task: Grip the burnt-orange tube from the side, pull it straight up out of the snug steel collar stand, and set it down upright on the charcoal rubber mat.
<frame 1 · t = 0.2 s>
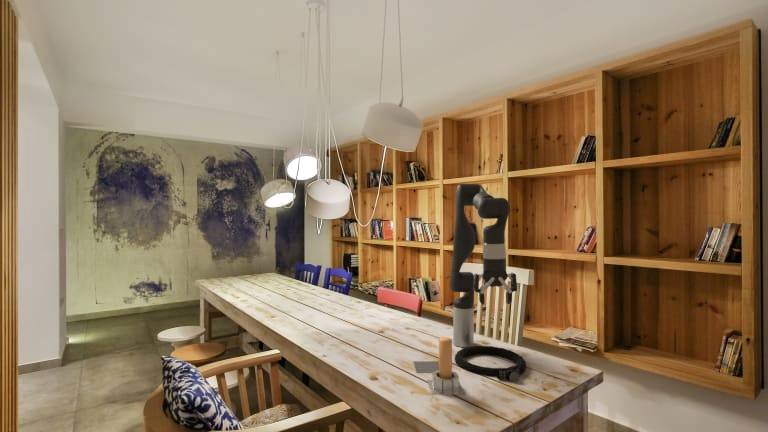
hand: (495, 303, 128), 29 cm above the table, tool pointing down, fingers open, 8 cm apart
mat: (429, 369, 144), on the table
cable lock: (491, 367, 148), on the table
collar stand: (445, 389, 127), on the table
tube: (445, 386, 127), point 1 cm above the table, touching collar stand
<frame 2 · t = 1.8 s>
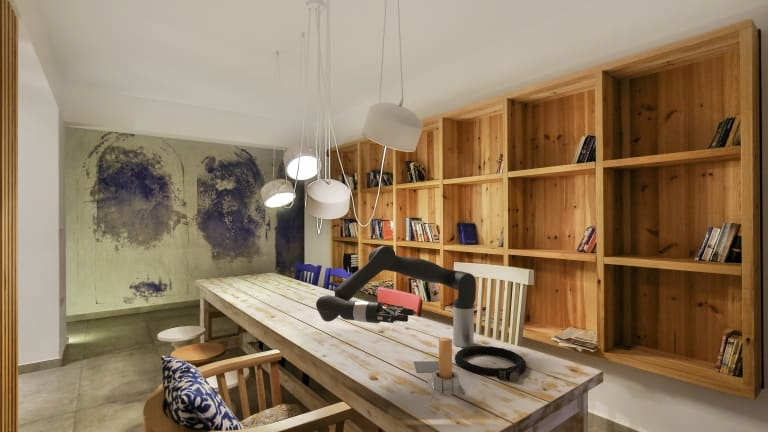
hand: (410, 315, 133), 24 cm above the table, tool horizontal, fingers open, 8 cm apart
nothing on the table moved.
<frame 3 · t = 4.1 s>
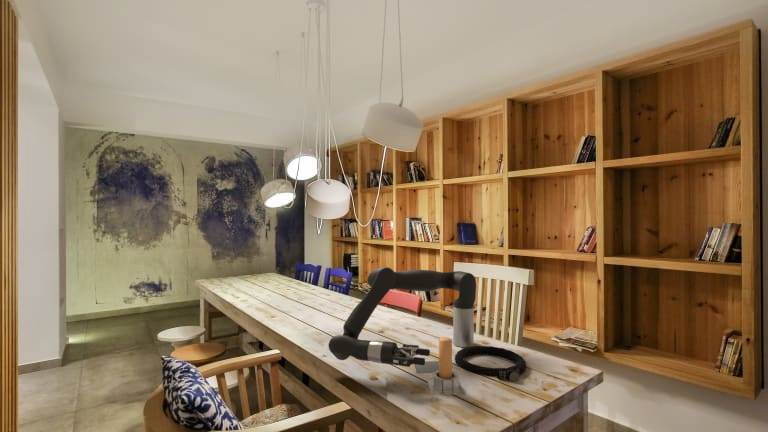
hand: (427, 357, 129), 10 cm above the table, tool horizontal, fingers open, 8 cm apart
nothing on the table moved.
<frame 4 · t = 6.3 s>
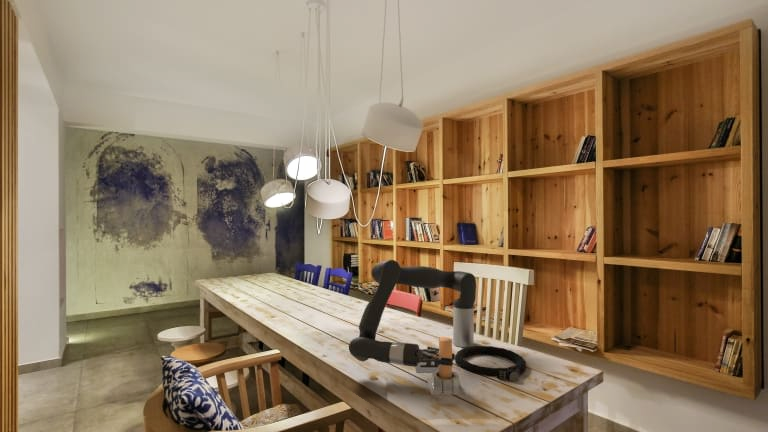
hand: (453, 359, 126), 10 cm above the table, tool horizontal, fingers closed on tube, 4 cm apart
tube: (445, 386, 127), point 1 cm above the table, touching collar stand, gripper
everything else where it was.
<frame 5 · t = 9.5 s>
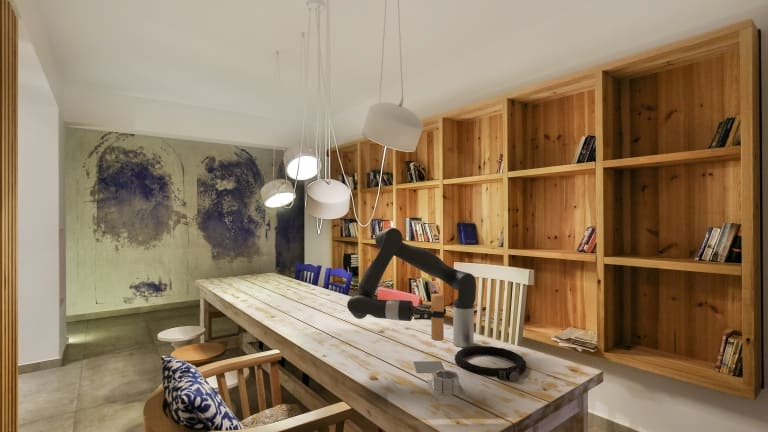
hand: (444, 313, 136), 24 cm above the table, tool horizontal, fingers closed on tube, 4 cm apart
tube: (437, 338, 137), point 14 cm above the table, touching gripper
everything else where it was.
when the fingers open (12 cm above the table, at t = 12.7 s): tube drops 1 cm, resting on mat.
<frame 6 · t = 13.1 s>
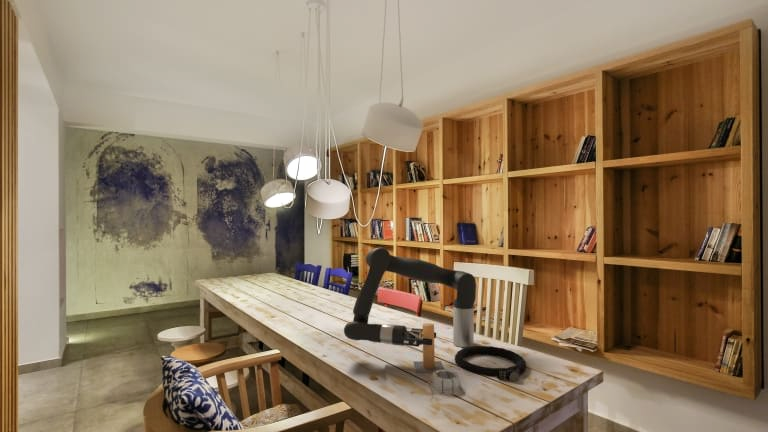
hand: (434, 338, 143), 12 cm above the table, tool horizontal, fingers open, 8 cm apart
tube: (428, 366, 144), point 1 cm above the table, touching mat
everything else where it was.
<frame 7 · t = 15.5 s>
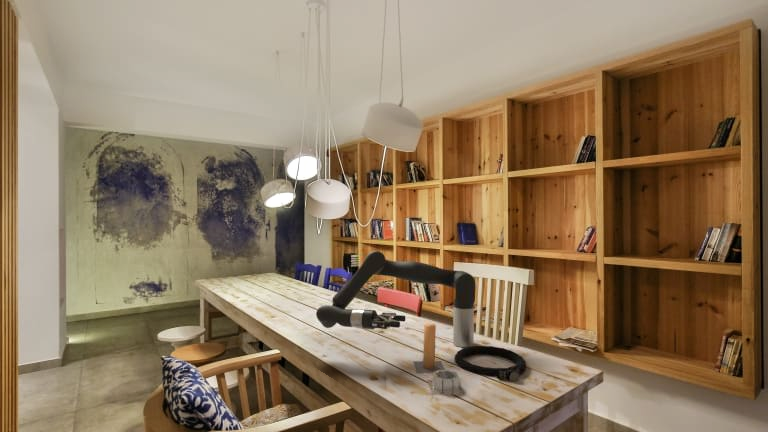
hand: (402, 321, 147), 18 cm above the table, tool horizontal, fingers open, 8 cm apart
nothing on the table moved.
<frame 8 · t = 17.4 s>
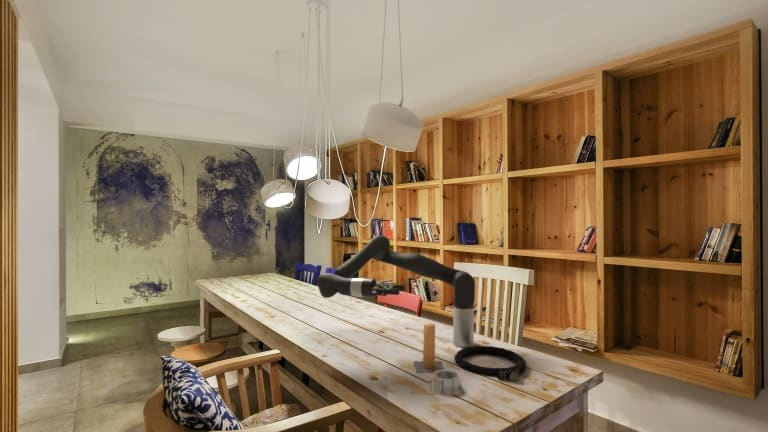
hand: (402, 289, 147), 30 cm above the table, tool horizontal, fingers open, 8 cm apart
nothing on the table moved.
at the end: tube inside the target area on the mat (0.1 cm from its centre), point 1.1 cm above the mat's base; tube tilted 2°; the gripper is holding nothing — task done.
